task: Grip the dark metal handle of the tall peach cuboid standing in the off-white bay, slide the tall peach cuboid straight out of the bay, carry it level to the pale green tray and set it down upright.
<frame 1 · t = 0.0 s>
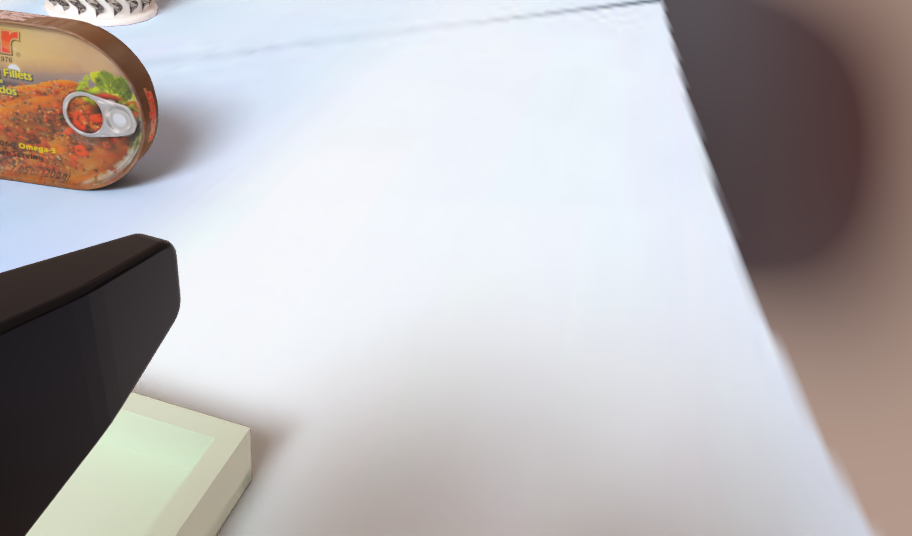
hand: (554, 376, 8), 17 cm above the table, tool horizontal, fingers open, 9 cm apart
tin: (23, 171, 43), on the table
decorative candle: (103, 11, 64), on the table
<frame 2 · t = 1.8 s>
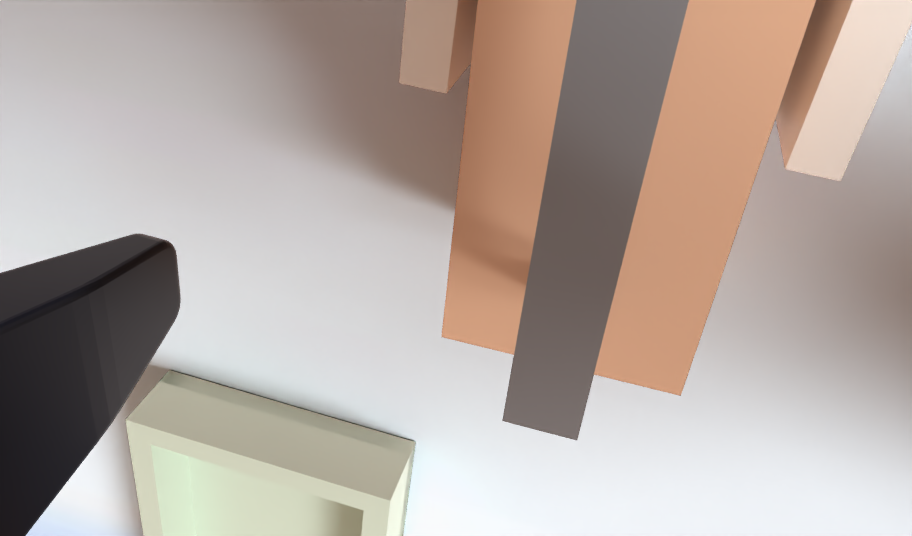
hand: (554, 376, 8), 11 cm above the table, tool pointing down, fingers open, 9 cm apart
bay: (629, 57, 17), on the table
tall peach cuboid: (630, 55, 18), on the table
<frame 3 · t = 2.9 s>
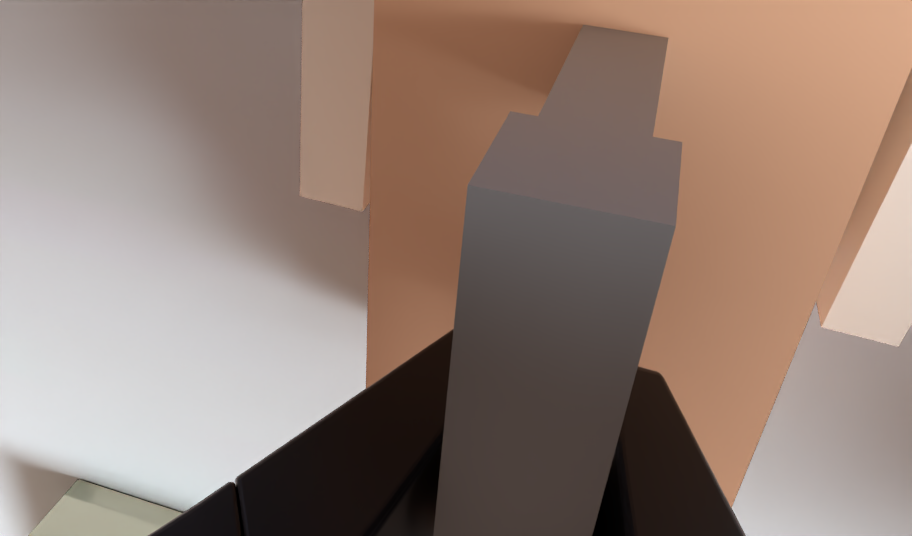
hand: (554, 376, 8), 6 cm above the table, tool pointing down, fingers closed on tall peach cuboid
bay: (611, 150, 13), on the table
tall peach cuboid: (612, 149, 13), on the table, touching gripper
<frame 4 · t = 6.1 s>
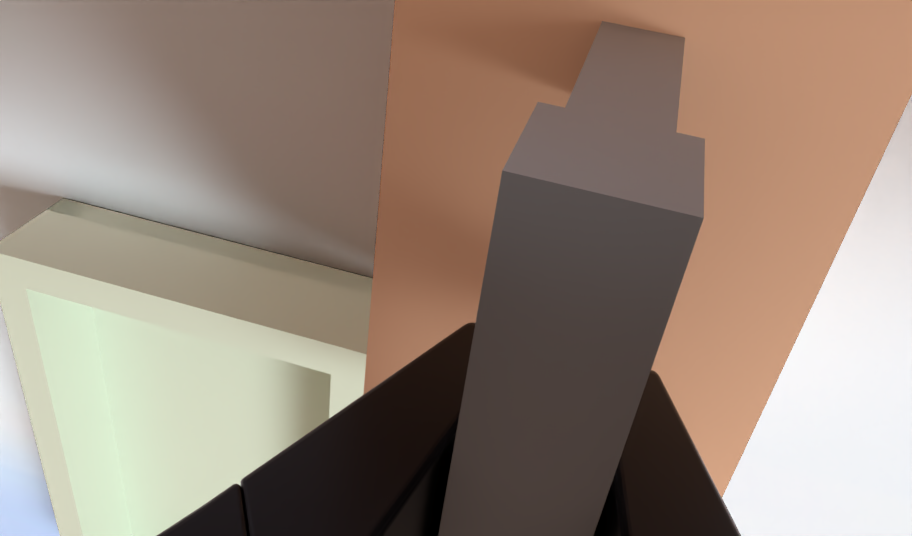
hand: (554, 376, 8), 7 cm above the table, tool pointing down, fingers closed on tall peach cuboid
tray: (239, 446, 22), on the table
tall peach cuboid: (612, 147, 14), point 1 cm above the table, touching gripper
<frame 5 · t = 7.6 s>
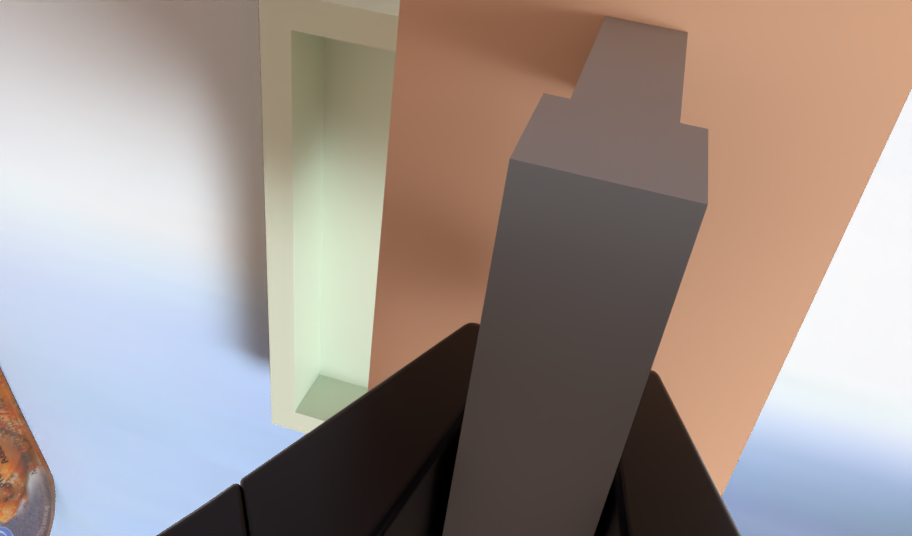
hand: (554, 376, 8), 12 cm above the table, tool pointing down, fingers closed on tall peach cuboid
tray: (445, 238, 23), on the table
tall peach cuboid: (615, 144, 14), point 6 cm above the table, touching gripper
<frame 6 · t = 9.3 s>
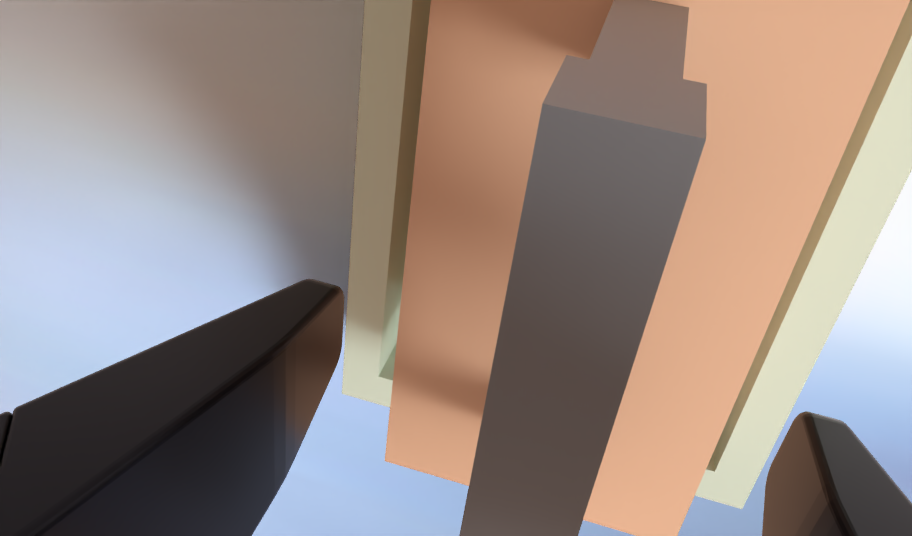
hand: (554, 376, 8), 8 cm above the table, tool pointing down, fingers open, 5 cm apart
tray: (621, 107, 15), on the table
tall peach cuboid: (621, 120, 15), point 1 cm above the table, touching tray
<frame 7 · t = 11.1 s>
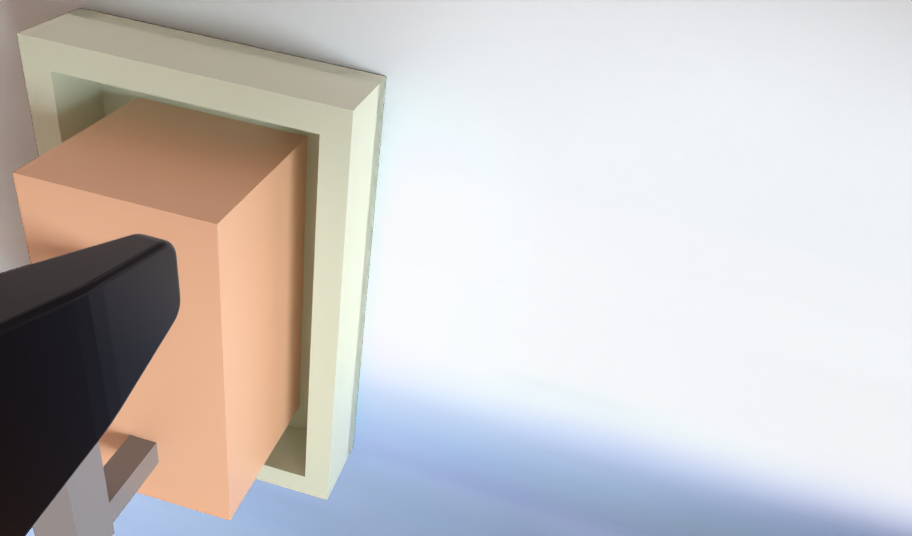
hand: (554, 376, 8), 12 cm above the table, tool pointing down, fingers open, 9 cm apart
tray: (234, 256, 25), on the table
tall peach cuboid: (227, 267, 24), point 1 cm above the table, touching tray
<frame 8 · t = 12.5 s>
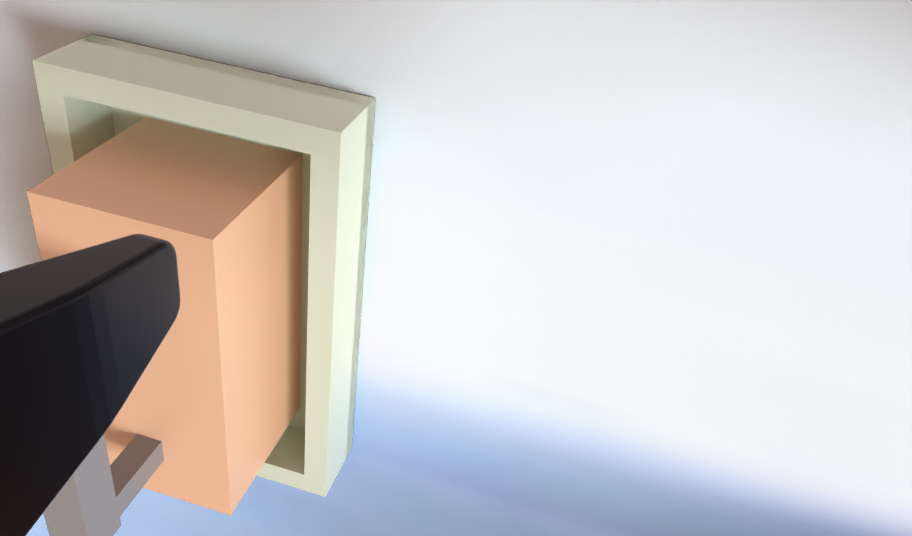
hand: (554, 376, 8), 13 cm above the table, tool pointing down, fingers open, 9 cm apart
tray: (237, 265, 26), on the table
tall peach cuboid: (230, 275, 26), point 1 cm above the table, touching tray
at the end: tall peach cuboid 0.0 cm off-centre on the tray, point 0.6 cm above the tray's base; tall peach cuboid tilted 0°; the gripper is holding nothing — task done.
